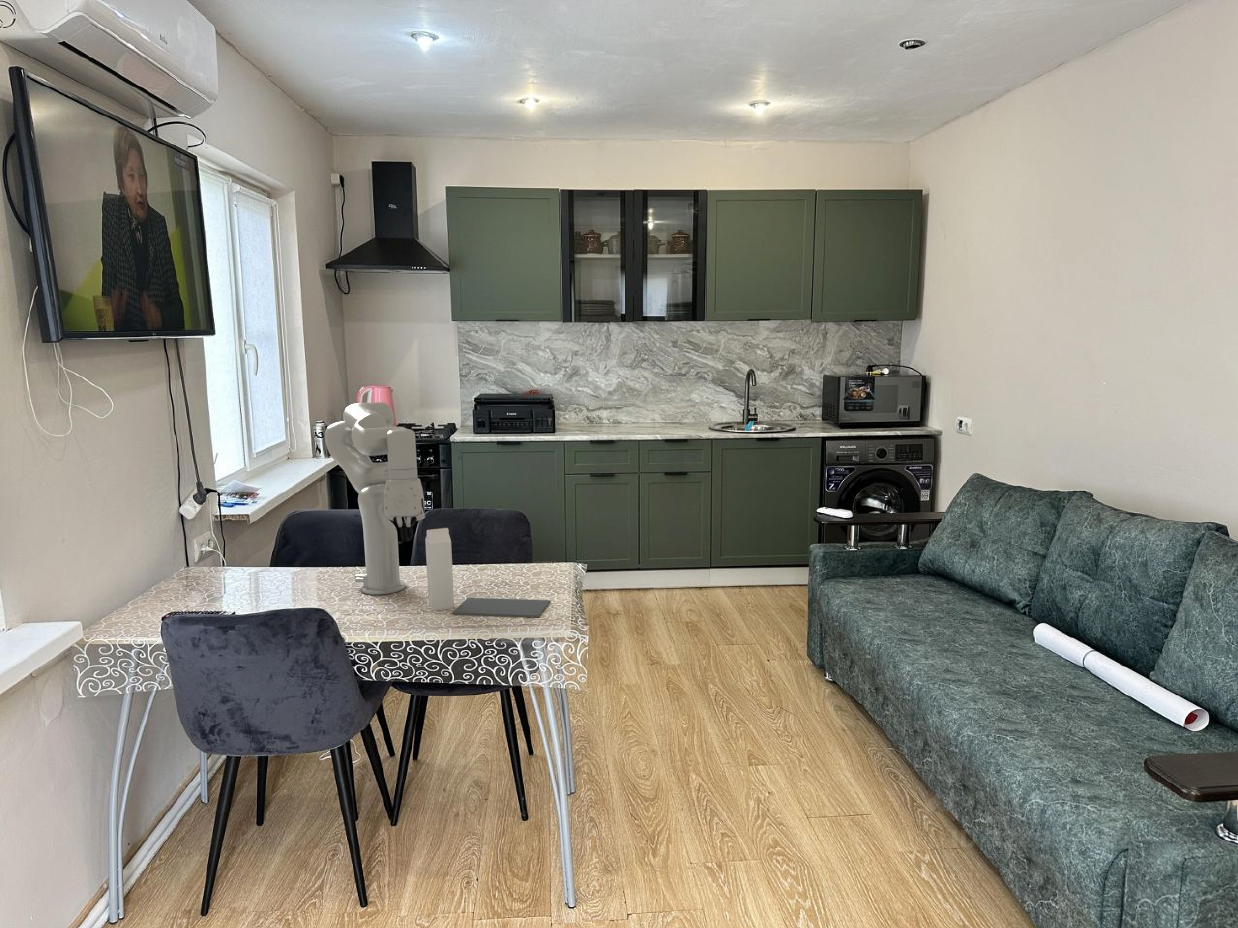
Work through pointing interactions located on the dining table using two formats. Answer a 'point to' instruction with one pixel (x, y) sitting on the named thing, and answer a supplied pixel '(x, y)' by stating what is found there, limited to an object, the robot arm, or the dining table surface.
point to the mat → (502, 607)
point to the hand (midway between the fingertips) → (407, 540)
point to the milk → (439, 569)
